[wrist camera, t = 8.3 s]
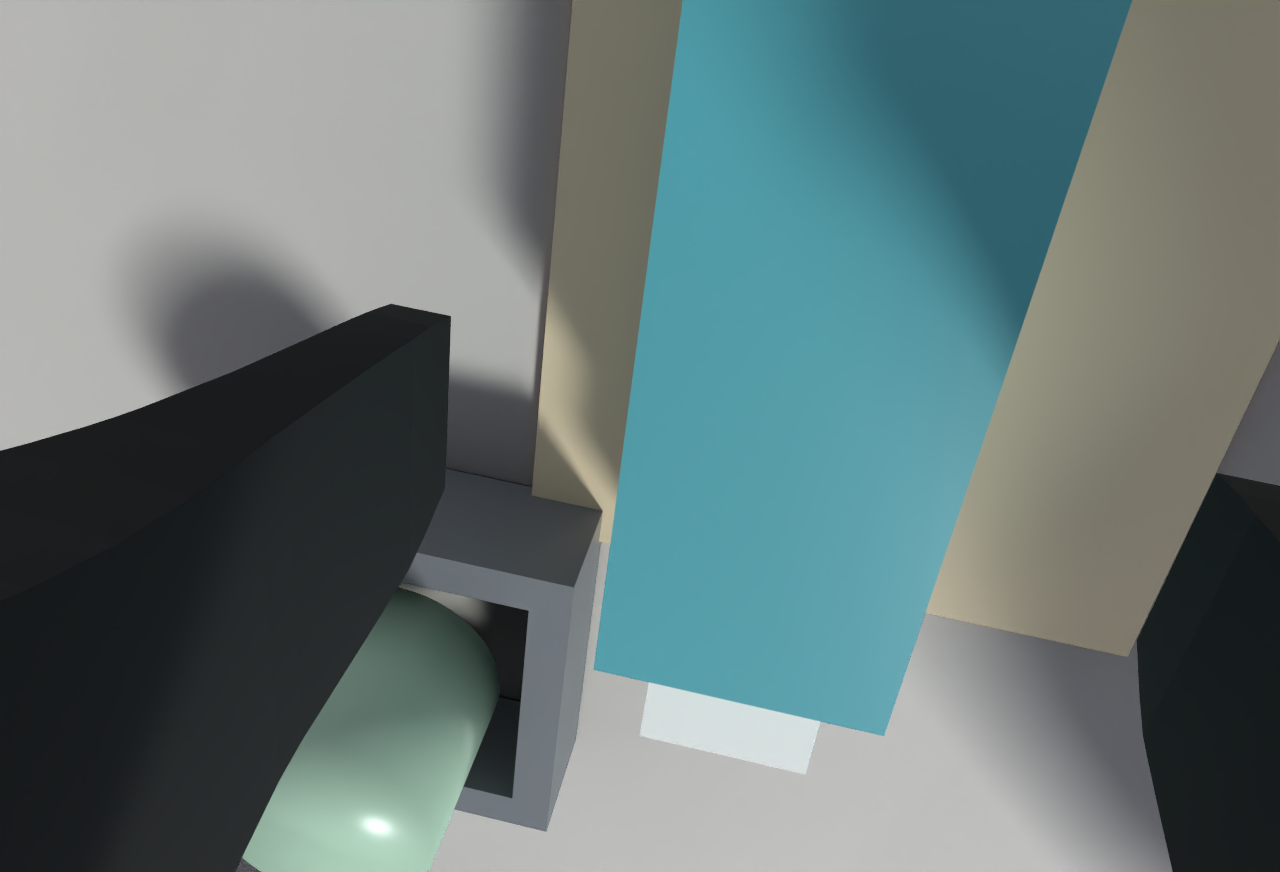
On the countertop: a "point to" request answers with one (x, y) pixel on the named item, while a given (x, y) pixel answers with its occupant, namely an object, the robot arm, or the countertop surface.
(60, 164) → the countertop surface
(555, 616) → the button housing
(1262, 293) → the kraft paper
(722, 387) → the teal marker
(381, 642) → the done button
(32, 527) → the robot arm
